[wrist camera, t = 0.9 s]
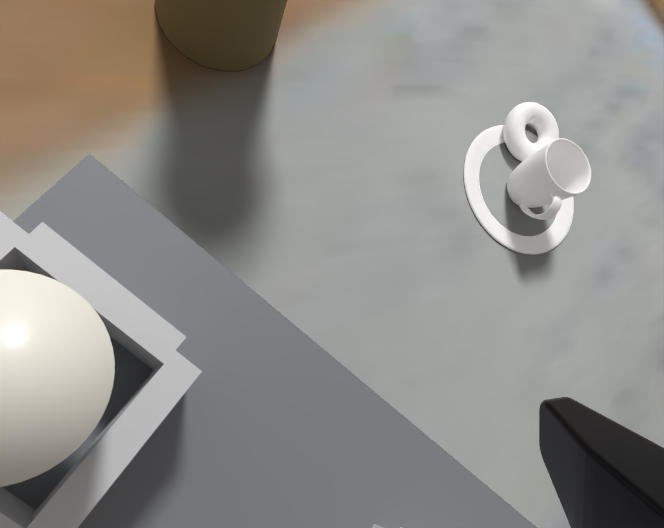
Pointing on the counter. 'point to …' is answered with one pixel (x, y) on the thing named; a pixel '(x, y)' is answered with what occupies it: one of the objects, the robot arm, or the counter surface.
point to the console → (216, 395)
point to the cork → (222, 30)
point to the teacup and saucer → (530, 176)
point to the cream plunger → (48, 373)
